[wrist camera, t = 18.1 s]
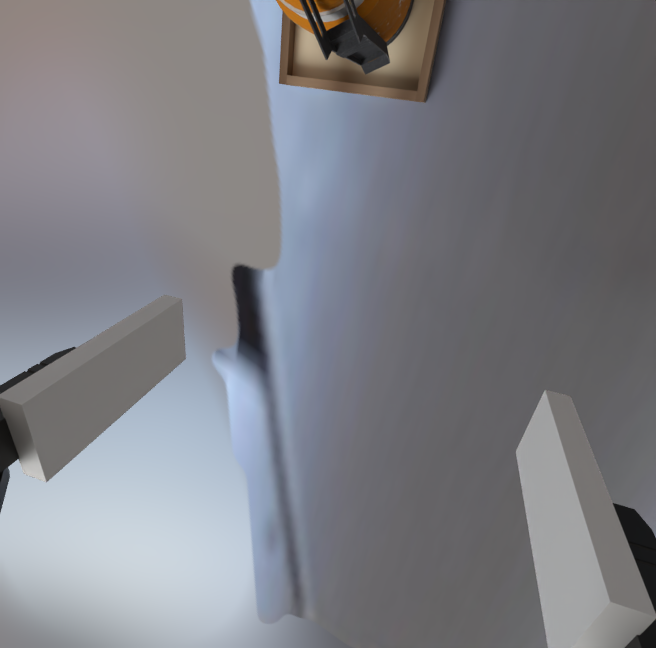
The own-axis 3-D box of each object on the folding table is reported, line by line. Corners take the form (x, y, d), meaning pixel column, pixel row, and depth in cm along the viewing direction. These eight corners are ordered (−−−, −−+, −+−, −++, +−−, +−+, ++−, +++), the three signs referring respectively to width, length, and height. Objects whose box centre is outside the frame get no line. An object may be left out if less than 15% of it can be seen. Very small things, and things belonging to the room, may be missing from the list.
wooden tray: (463, -84, 34) (463, -96, 32) (425, 102, 40) (423, 101, 38) (297, -91, 36) (288, -102, 34) (287, 84, 43) (279, 83, 41)
